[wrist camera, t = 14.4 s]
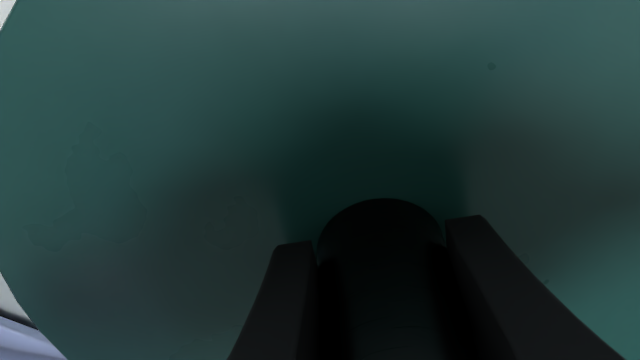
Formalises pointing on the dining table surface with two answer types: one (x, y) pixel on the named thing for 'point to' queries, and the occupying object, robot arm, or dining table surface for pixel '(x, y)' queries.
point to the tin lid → (313, 165)
